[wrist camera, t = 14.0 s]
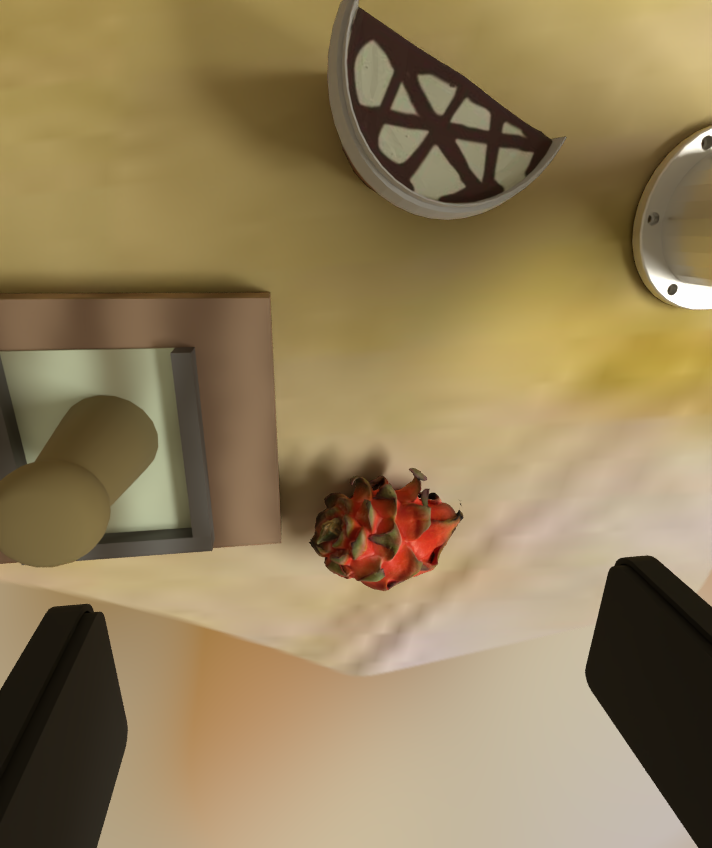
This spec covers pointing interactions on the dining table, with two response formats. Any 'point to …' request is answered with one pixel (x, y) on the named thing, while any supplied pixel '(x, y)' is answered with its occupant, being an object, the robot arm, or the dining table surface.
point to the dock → (155, 407)
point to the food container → (424, 125)
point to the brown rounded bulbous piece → (75, 482)
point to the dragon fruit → (383, 531)
